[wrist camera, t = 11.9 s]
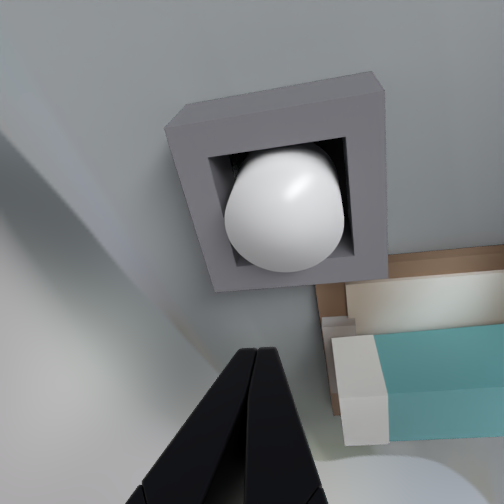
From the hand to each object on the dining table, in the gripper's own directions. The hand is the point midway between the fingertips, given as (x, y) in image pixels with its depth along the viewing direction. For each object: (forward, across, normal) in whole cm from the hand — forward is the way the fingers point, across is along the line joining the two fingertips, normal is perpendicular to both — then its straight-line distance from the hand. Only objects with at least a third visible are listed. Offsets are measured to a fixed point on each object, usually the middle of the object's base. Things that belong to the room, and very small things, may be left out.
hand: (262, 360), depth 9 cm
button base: (+10, 0, 0) cm, 10 cm away
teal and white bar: (+9, -7, +10) cm, 15 cm away
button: (+9, 0, 0) cm, 9 cm away
